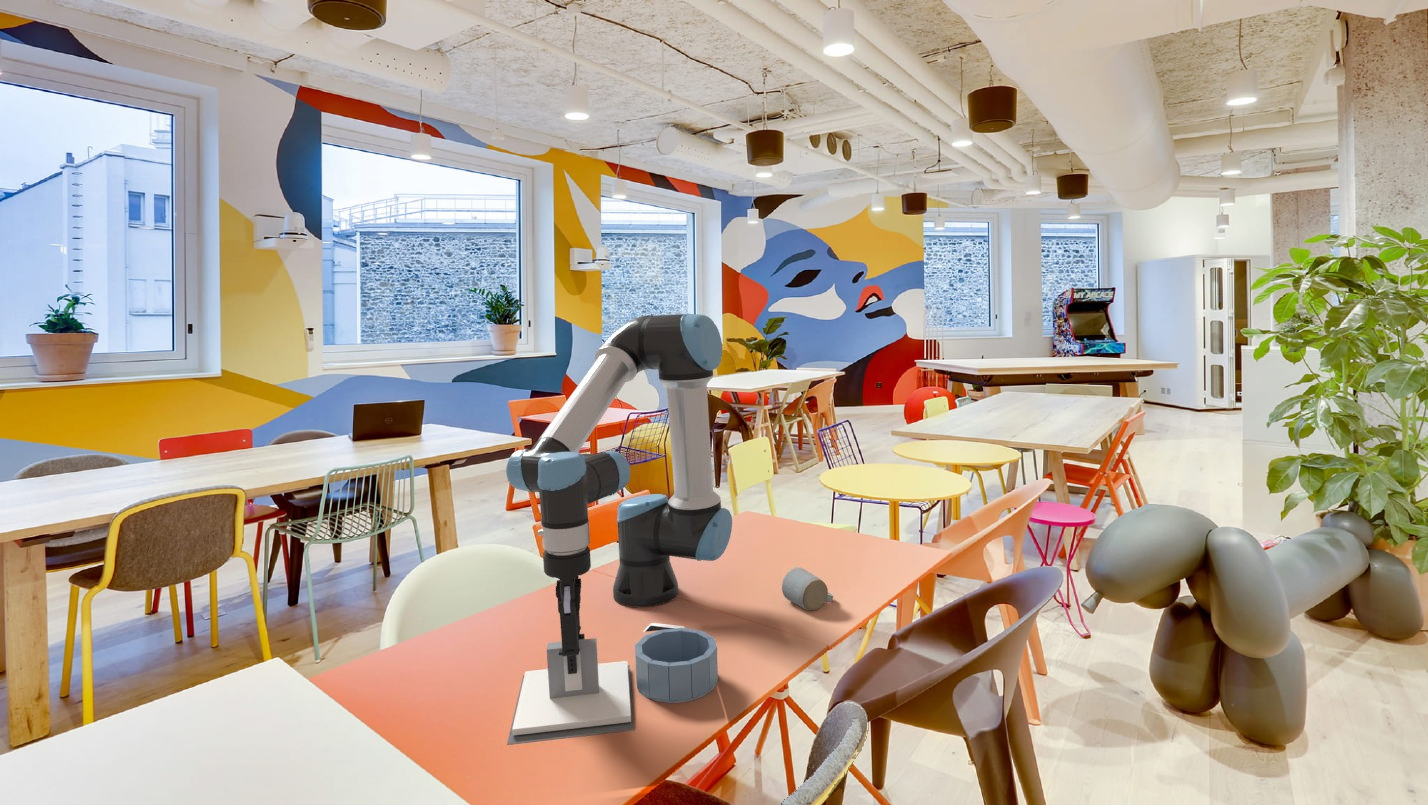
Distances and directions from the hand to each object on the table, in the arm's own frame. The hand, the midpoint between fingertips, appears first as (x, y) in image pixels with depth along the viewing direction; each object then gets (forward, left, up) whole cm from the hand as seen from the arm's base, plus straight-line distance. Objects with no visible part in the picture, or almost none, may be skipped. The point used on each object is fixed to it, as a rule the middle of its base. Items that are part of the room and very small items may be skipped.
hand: (574, 684), depth 116 cm
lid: (0, 0, -2) cm, 2 cm away
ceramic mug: (-32, +50, -4) cm, 59 cm away
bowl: (-3, +17, -3) cm, 18 cm away
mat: (0, 0, -3) cm, 3 cm away
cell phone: (-20, +14, -4) cm, 25 cm away
